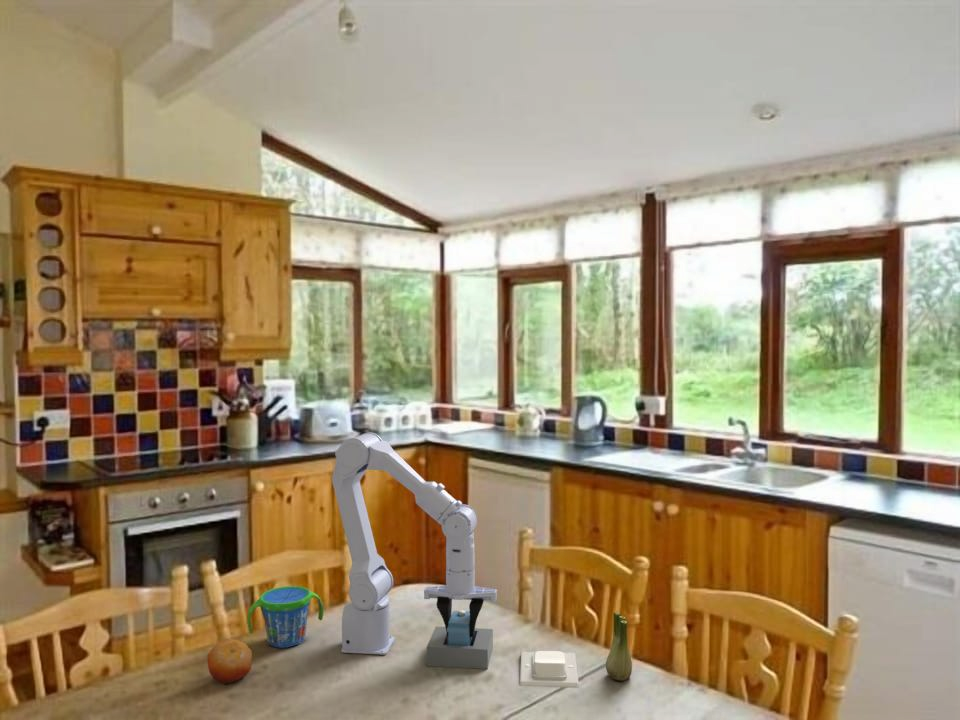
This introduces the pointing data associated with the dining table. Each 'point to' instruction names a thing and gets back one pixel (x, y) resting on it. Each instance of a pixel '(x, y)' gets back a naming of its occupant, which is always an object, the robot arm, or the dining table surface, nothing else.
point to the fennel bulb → (619, 651)
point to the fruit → (229, 661)
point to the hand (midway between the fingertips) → (460, 634)
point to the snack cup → (285, 614)
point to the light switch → (548, 669)
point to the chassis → (460, 650)
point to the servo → (459, 628)
